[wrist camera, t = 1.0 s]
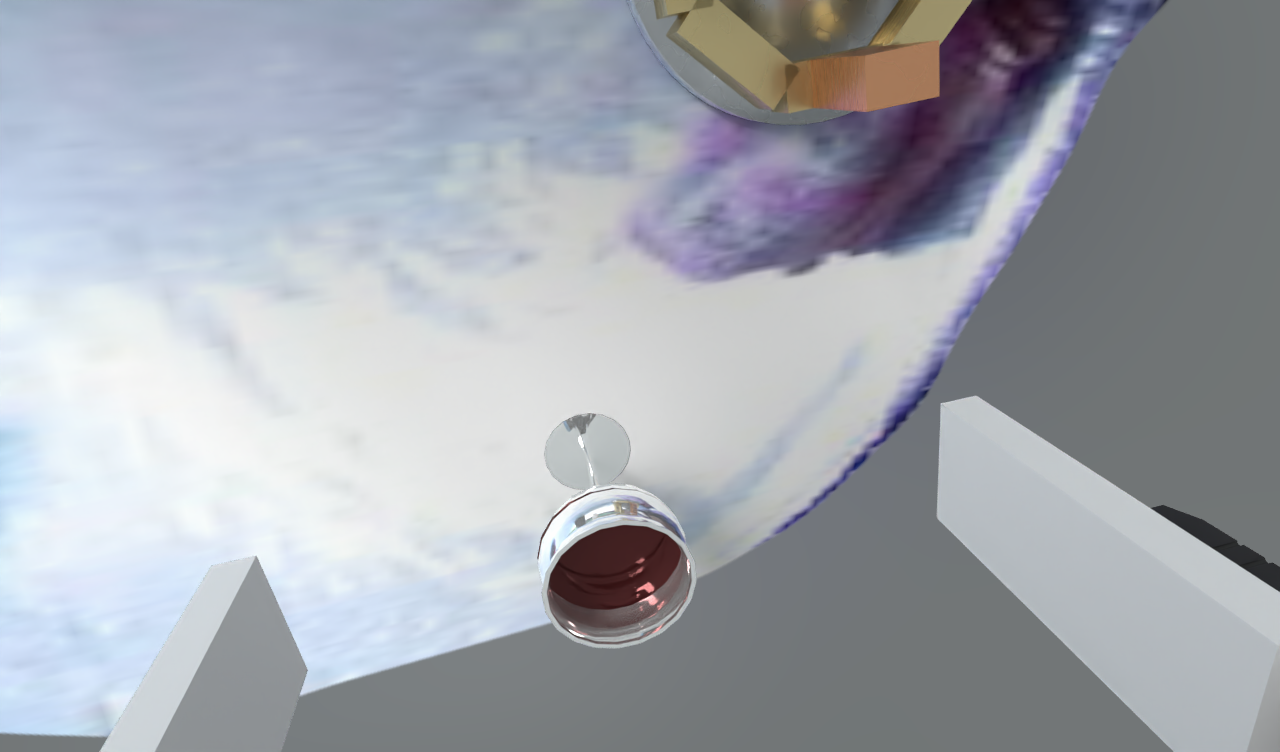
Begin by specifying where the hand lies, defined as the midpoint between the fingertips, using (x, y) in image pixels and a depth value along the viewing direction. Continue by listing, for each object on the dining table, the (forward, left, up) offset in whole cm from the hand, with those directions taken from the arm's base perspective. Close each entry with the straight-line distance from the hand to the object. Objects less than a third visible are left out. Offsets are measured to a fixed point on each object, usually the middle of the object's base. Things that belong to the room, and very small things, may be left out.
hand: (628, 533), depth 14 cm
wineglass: (+12, 0, -25) cm, 28 cm away
